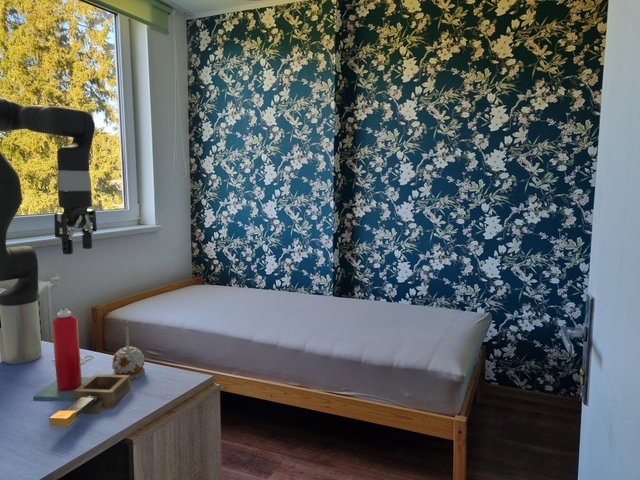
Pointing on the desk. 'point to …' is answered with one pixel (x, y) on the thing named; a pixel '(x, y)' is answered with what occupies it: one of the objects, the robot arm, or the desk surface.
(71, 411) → the lever
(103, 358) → the desk surface
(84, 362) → the scissors
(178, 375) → the desk surface
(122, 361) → the caramel apple
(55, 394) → the coaster
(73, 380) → the bottle
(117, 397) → the holder
